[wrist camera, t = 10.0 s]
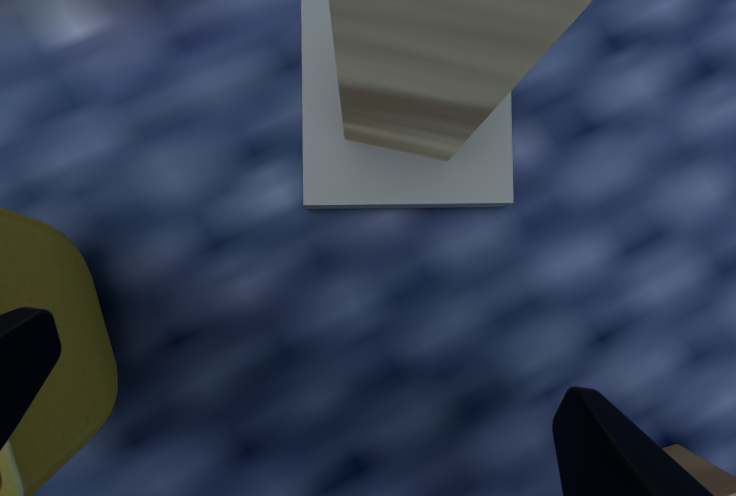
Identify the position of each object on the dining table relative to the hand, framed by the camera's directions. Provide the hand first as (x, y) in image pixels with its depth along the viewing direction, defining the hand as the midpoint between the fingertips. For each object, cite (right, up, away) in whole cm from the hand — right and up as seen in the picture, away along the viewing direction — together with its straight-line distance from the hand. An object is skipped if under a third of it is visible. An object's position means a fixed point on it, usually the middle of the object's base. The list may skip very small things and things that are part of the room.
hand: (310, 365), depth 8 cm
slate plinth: (+3, +8, +13) cm, 15 cm away
